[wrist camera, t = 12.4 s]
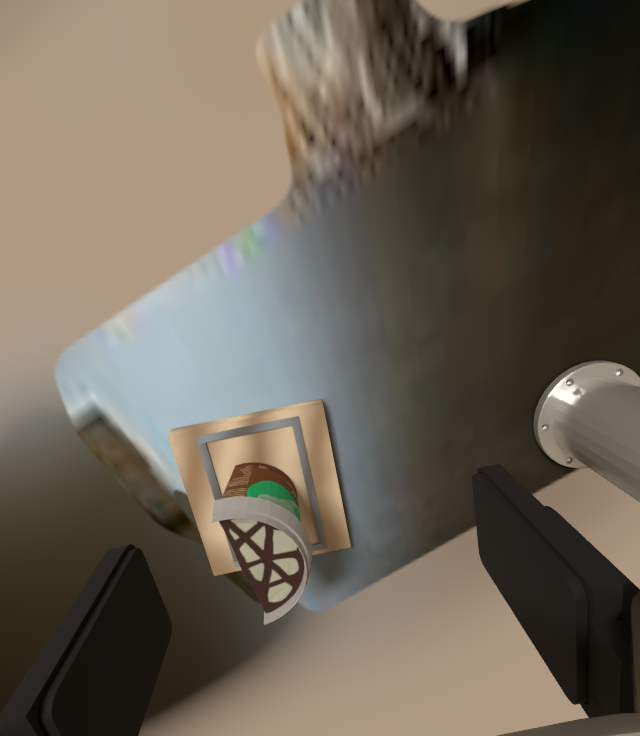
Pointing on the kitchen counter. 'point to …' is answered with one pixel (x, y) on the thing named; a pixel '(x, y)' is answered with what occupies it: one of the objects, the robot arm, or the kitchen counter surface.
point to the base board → (270, 446)
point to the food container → (266, 534)
